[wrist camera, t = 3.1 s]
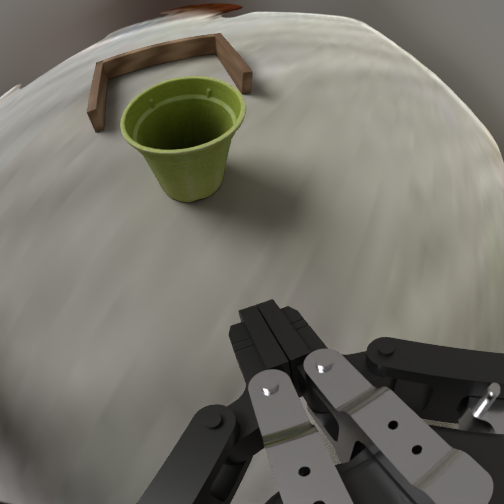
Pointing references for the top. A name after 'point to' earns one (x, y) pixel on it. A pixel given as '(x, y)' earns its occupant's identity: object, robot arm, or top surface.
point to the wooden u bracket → (162, 55)
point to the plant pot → (185, 132)
